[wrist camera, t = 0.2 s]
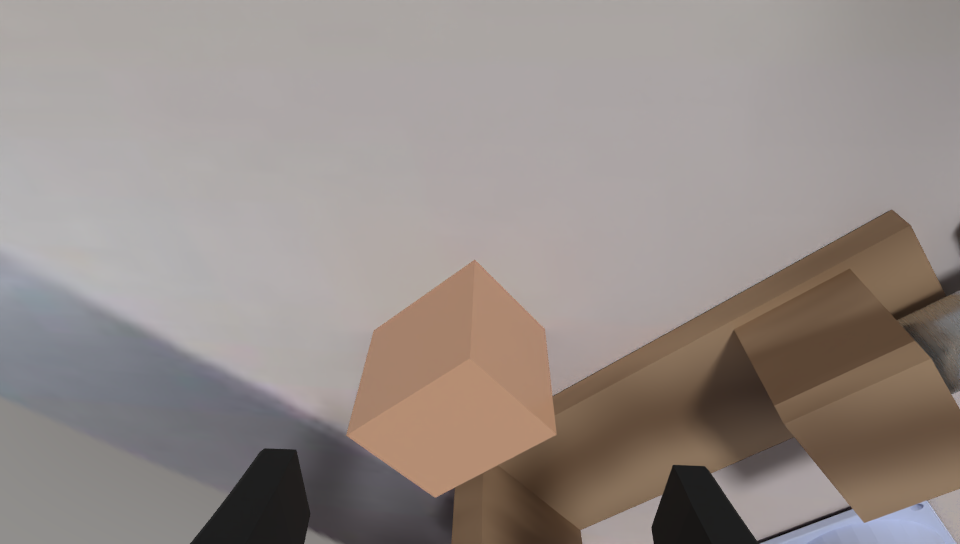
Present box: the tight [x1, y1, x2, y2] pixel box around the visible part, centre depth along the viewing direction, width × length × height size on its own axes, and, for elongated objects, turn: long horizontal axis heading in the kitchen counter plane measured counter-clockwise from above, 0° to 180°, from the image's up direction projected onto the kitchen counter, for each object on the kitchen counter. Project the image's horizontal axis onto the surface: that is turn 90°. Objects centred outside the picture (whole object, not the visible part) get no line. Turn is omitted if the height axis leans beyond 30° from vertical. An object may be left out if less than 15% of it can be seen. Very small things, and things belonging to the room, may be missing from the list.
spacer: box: [346, 260, 557, 498], centre depth 20 cm, size 4×5×5 cm
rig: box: [451, 210, 960, 544], centre depth 21 cm, size 7×22×5 cm, turn 130°
